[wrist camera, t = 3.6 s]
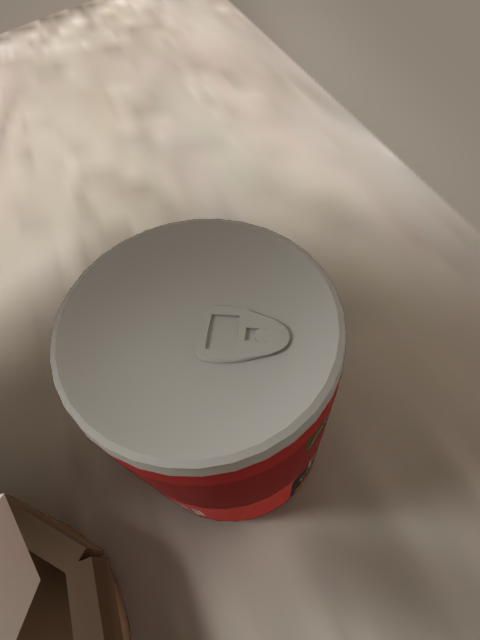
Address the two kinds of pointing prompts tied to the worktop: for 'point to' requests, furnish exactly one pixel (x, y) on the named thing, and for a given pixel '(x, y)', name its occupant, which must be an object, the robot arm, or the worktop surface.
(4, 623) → the robot arm
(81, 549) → the walnut tray
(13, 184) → the worktop surface
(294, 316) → the canned food
